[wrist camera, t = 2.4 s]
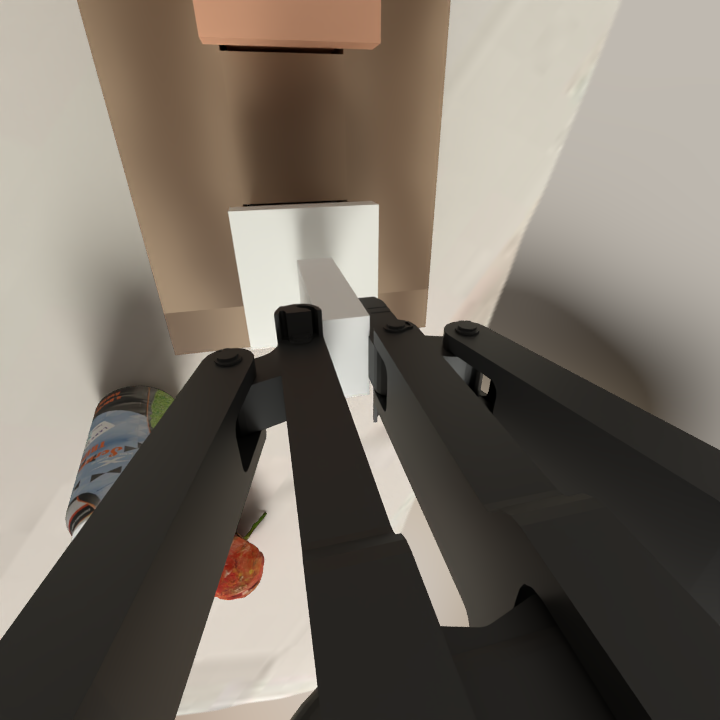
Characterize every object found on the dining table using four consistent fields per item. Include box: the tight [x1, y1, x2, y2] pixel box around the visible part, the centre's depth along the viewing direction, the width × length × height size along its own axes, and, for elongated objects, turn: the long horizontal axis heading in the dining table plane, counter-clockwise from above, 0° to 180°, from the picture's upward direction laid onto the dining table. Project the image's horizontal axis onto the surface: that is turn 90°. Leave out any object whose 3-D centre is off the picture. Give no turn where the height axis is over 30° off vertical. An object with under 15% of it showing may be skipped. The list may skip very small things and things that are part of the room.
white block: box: [228, 200, 379, 350], centre depth 22 cm, size 6×6×8 cm
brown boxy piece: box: [77, 0, 450, 355], centre depth 22 cm, size 16×23×7 cm
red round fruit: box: [215, 512, 267, 600], centre depth 39 cm, size 7×7×10 cm
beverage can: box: [66, 386, 174, 541], centre depth 28 cm, size 6×7×12 cm
